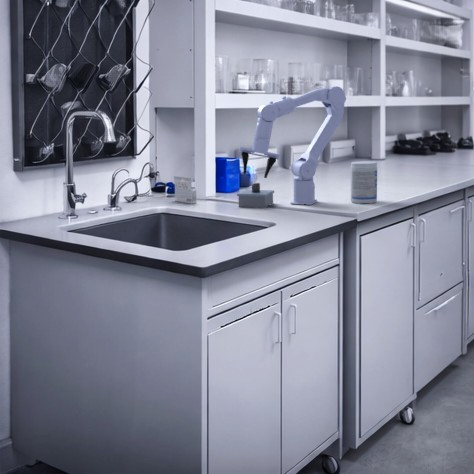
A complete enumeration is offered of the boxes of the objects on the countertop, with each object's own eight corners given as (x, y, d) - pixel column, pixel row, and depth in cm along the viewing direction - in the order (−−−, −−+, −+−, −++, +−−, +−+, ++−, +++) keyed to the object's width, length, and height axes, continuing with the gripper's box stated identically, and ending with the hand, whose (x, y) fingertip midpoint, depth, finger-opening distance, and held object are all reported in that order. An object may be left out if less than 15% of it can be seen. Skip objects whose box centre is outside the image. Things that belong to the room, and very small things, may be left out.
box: (247, 202, 256) (247, 191, 255) (273, 203, 253) (272, 192, 252) (238, 206, 247) (238, 195, 246) (264, 207, 244) (264, 196, 243)
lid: (246, 191, 256) (246, 181, 255) (274, 192, 252) (274, 181, 251) (237, 195, 246) (236, 184, 245) (265, 196, 242) (265, 185, 241)
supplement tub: (380, 203, 247) (381, 163, 244) (356, 204, 245) (356, 164, 242) (370, 199, 256) (371, 160, 253) (346, 201, 254) (347, 161, 251)
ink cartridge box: (179, 200, 266) (178, 175, 264) (197, 203, 258) (196, 177, 256) (174, 201, 264) (173, 176, 262) (191, 204, 256) (191, 178, 254)
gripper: (280, 141, 247) (273, 178, 249) (241, 134, 246) (234, 171, 248) (283, 142, 240) (275, 180, 243) (242, 134, 239) (235, 172, 241)
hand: (254, 175), depth 245 cm, fingers open, 7 cm apart
